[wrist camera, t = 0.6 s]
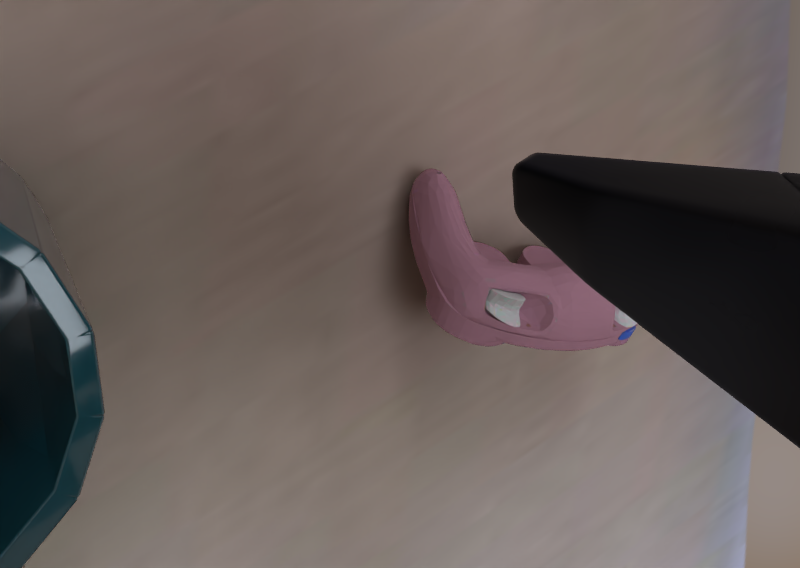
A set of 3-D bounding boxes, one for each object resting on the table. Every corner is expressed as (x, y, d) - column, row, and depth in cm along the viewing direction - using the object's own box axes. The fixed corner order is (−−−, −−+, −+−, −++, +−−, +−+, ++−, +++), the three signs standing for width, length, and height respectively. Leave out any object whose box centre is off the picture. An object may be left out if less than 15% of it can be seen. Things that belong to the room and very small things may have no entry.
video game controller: (372, 254, 29) (443, 380, 24) (410, 155, 26) (498, 273, 22) (560, 264, 34) (650, 371, 29) (608, 181, 31) (715, 283, 27)
